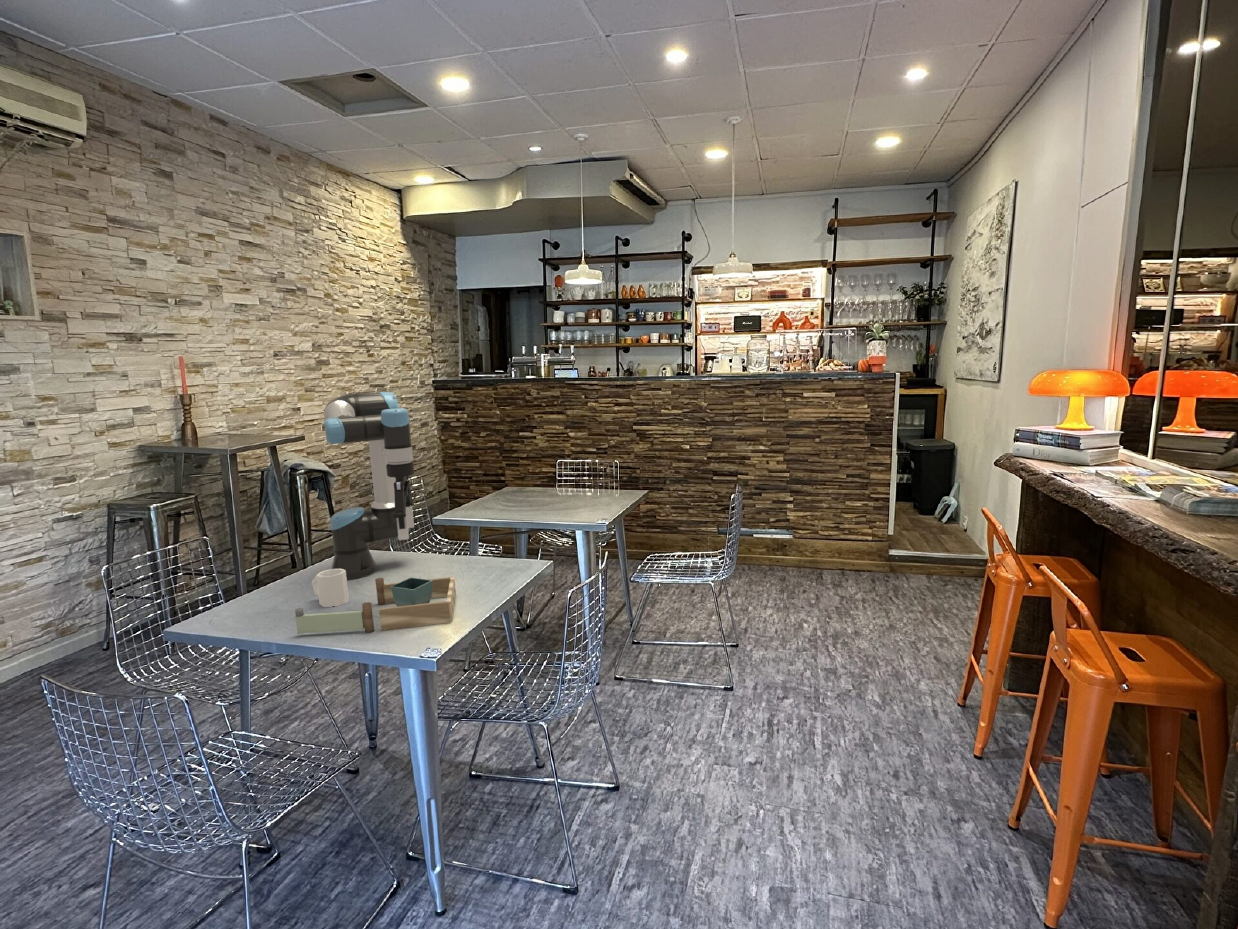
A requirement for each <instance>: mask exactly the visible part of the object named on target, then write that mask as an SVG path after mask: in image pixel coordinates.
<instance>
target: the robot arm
mask: <svg viewBox="0 0 1238 929" xmlns="http://www.w3.org/2000/svg"><path fill="white" fill-rule="evenodd" d="M408 411H409V410H408V409H406V408H402V407H401V408H400V405H399V402H398V400H397V397H396V395H395V393H393V392H391V391H390V392H388V391H378V392H377V391H376V392H375V391H374V392H364V393H362V392H361V393H348V394H343V395H341V396H338V397H335V398H334V399H332V400H331V401H329V402H328V403H327V404H326V405H325V407H324V410H323V417H324V421H323V422H324V432H325V439H326V443H327V444H328V445H341V444H347V443H348V444H349V443H351V444H352V443H359V442H368V446H369V456H370V467H371V476H372V486H373V497H374V501H373V502H372V503H371V504H370V510H366V509H365V508H364V507H362V506H360V507H350V508H346V509H343V510H341V511H338V512H335V513H334V514H333V515H332V516H331V518H330V526H331V527H330V530H331V534H332V543H333V544H332V545H333V553H334V554H333V555H334V556H333V560H332V564H331V569H344V570H346V578H347V581H349V580H355V579H360V578H365V577H367V576H370V575H372V574H374V573H375V572H377V565H376V561H375V560H374V558H373V555H372V553H371V552H370V545H369V543H376V542H382V541H390V540H391V541H392V540H397V539H398V541H403V540H405V541H406V540H410V538H409V536H410V535H409V532H410V529H413V528H415V522H414V511H413V506H414V507H415V502H414V501H413V498H412V492H411V485H410V484H411V483H410V476H414V474H415V467H414V462H413V459H414V455H413V453H414V452H413V445H412V438H411V425H410V421H411V420H410V417H409V412H408Z"/></svg>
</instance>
